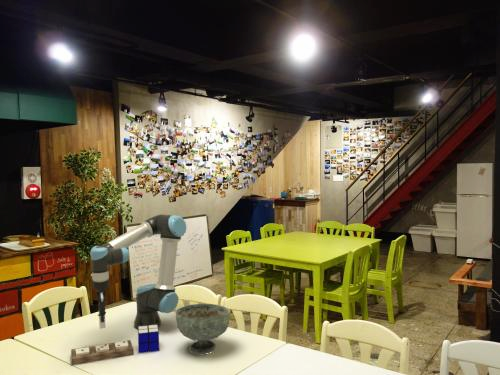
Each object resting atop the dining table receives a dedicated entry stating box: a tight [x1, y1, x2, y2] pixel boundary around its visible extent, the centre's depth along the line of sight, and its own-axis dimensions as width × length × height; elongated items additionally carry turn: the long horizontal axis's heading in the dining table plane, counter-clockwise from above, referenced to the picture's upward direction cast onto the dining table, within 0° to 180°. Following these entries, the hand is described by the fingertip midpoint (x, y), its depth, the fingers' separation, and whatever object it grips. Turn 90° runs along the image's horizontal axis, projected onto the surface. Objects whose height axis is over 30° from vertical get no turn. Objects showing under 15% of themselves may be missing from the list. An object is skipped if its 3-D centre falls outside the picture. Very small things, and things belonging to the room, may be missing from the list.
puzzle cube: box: [137, 325, 160, 354], centre depth 216 cm, size 10×10×10 cm
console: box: [70, 339, 135, 366], centre depth 208 cm, size 28×12×3 cm, turn 113°
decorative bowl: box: [175, 303, 231, 355], centre depth 214 cm, size 26×26×20 cm
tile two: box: [115, 340, 129, 350], centre depth 212 cm, size 6×6×3 cm
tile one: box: [75, 346, 89, 356], centre depth 205 cm, size 6×6×3 cm
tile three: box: [94, 343, 109, 353], centre depth 208 cm, size 6×6×3 cm
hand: (102, 327), depth 208 cm, fingers closed
